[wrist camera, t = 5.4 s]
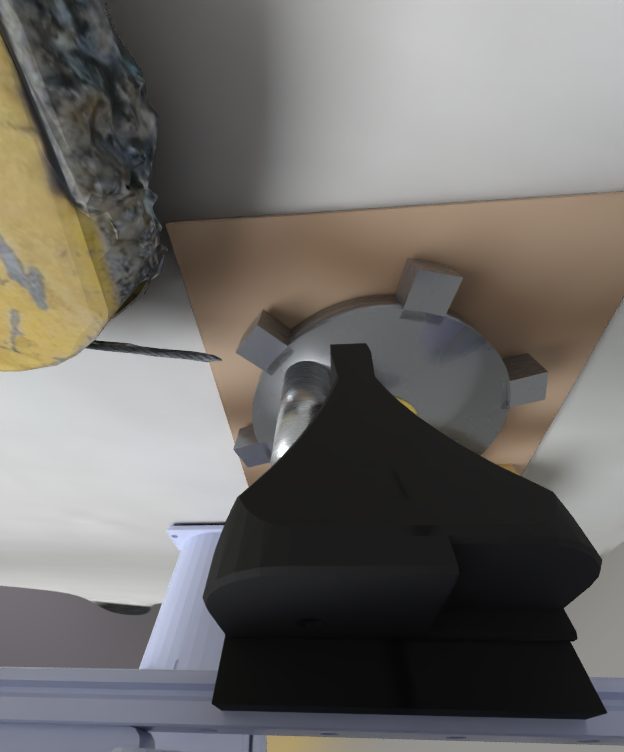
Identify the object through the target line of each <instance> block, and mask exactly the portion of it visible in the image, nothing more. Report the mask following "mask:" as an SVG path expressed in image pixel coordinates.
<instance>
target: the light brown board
mask: <svg viewBox="0 0 624 752" xmlns="http://www.w3.org/2000/svg"><path fill="white" fill-rule="evenodd" d="M165 225H166V228H167V231H168V234H169V238H170V241H171V244H172V247H173V250H174V253H175V256H176V260H177V263H178V266H179V269H180V272H181V275H182V279H183V282H184V285H185V288H186V291H187V294H188V297H189V301H190V304H191V307H192V310H193V313H194V316H195V319H196V323H197V326H198V329H199V332H200V335H201V338H202V341H203V345H204V348H205V351H206V354H212V355H216V356H217V357H219V358H221V359H222V361H213V362H209V363H210V367H211V370H212V373H213V376H214V379H215V382H216V385H217V389H218V392H219V395H220V398H221V401H222V404H223V407H224V411H225V414H226V417H227V420H228V423H229V426H230V429H231V433H232V436H233V439H234V442H235V443H236V439H237V436H238V433H239V429H240V428H243V427H247V426H251V425H253V424H252V405H253V399H254V394H255V391H256V387H257V384H258V380H259V377H260V374H261V371H262V369H260V368H259V367H257V366H256V365H254V364H252V363H251V362H249V361H248V360H246V359H245V358H243V357H242V356H240V355H238V354H237V353H235V352H236V350H237V348H238V345H239V343H240V341H241V339H242V336H243V334H244V333H245V332H246V331H247V329H248V328H249V327H250V325H251V324H252V323H253V322H254V320H255V319H256V318H257V316H258V315H259V314H260V313H261V311H262V310H263V309H264V310H265V311H267V312H268V313H269V314H271V315H272V316H273V317H275V318H276V319H278V320H279V321H280V322H282V323H283V324H284V325H286V326H287V327H288V328H290V329H292V328H293V327H294V326H296V325H297V324H298V323H300V322H301V321H302V320H304V319H305V318H307V317H309V316H310V315H312V314H314V313H316V312H318V311H319V310H322V309H324V308H326V307H329V306H331V305H334V304H336V303H339V302H343V301H347V300H350V299H354V298H359V297H366V296H372V295H395V292H396V289H397V286H398V283H399V280H400V277H401V275H402V272H403V269H404V266H405V263H406V260H407V258H412V259H417V260H422V261H428V262H433V263H439V264H444V265H448V266H449V267H450V268H452V269H453V270H454V271H455V272H457V273H458V274H459V275H460V276H462V277H463V279H462V281H461V283H460V286H459V288H458V290H457V292H456V294H455V296H454V298H453V301H452V303H451V305H450V307H449V309H451V310H453V311H454V312H456V313H458V314H459V315H461V316H463V317H464V318H465V319H466V320H467V321H468V322H470V323H471V324H472V325H473V326H474V327H475V328H476V329H477V330H478V331H479V332H480V333H481V334H482V335H483V336H484V338H485V339H486V340H487V341H488V342H489V343H490V344H491V345H492V346H493V348H494V349H495V350H496V351H497V353H498V354H499V355H500V357H501V359H505V358H509V357H513V356H517V355H521V354H524V353H529V354H530V355H531V356H532V357H533V358H534V359H535V360H536V361H537V362H538V363H539V364H541V365H542V366H543V367H544V368H545V369H546V370H547V371H548V379H547V388H546V397H545V400H541V401H537V402H532V403H528V404H523V405H519V406H515V407H510V408H509V411H508V414H507V418H506V421H505V423H504V425H503V427H502V429H501V431H500V432H499V434H498V435H497V437H496V438H495V440H494V441H493V443H492V444H491V445H490V446H489V447H488V448H487V449H486V450H485V452H484V453H483V454H481V455H480V456H482V457H484V458H485V459H487V460H489V461H491V462H493V463H495V464H512V465H513V467H514V468H515V470H516V472H517V473H518V475H519V476H521V475H522V473H523V471H524V469H525V468H526V466H527V464H528V462H529V461H530V459H531V457H532V456H533V454H534V452H535V450H536V449H537V447H538V445H539V443H540V442H541V440H542V438H543V436H544V435H545V433H546V431H547V429H548V428H549V426H550V424H551V422H552V421H553V419H554V417H555V415H556V414H557V412H558V410H559V408H560V407H561V405H562V403H563V402H564V400H565V398H566V396H567V395H568V393H569V391H570V389H571V388H572V386H573V384H574V382H575V381H576V379H577V377H578V375H579V374H580V372H581V370H582V368H583V367H584V365H585V363H586V361H587V360H588V358H589V356H590V354H591V353H592V351H593V349H594V347H595V346H596V344H597V342H598V341H599V339H600V337H601V335H602V334H603V332H604V330H605V328H606V327H607V325H608V323H609V321H610V320H611V318H612V316H613V314H614V313H615V311H616V309H617V307H618V306H619V304H620V302H621V300H622V299H623V297H624V191H620V192H606V193H591V194H576V195H562V196H547V197H532V198H518V199H503V200H488V201H474V202H459V203H444V204H430V205H415V206H400V207H386V208H371V209H356V210H342V211H327V212H312V213H298V214H283V215H268V216H254V217H239V218H224V219H210V220H195V221H180V222H170V223H167V224H165ZM239 458H240V457H239ZM240 461H241V464H242V467H243V470H244V473H245V477H246V480H247V483H248V486H249V487H250V486H251V485H252V484H253V483H254V482H255V481H256V480H257V479H258V478H260V477H261V476H262V475H263V474H264V473H265V472H266V471H267V470H268V469H270V468H271V465H270V463H266V464H261V465H257V466H253V467H247V466H246V465H245V463H244V462H243V461H242V460H241V458H240Z"/></svg>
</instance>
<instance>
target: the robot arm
mask: <svg viewBox="0 0 624 752" xmlns="http://www.w3.org/2000/svg"><path fill="white" fill-rule="evenodd" d="M330 362H331V390H330V392H329V394H328V396H327V397H326V399H325V401H324V403H323V404H322V406H321V408H320V409H319V411H318V412H317V414H316V415H315V417H314V418H313V419H312V421H311V422H310V423H309V425H308V426H307V427H306V429H305V430H304V431H303V433H302V434H301V435H300V436H299V438H298V439H297V440H296V441H295V442H294V443H293V444H292V445H291V447H290V448H289V449H288V450H287V451H286V452H285V453H284V454H283V455H282V456H281V457H280V458H279V459H278V461H277V462H276V463H275V464H274V465H273V466H272V467H271V468H270V469H268V470H267V471H266V472H265V473H264V474H263V475H262V476H261V477H260V478H258V479H257V480H256V481H255V482H254V483H253V484H252V485H251V486H250V487H248V488H247V489H246V490H245V491H244V492H243V493H242V494H241V495H239V496H238V497H237V499H236V501H235V503H234V505H233V507H232V509H231V511H230V514H229V516H228V518H227V520H226V523H225V525H196V526H170V527H168V529H167V534H168V535H169V537H170V538H171V540H172V541H173V542H174V544H175V545H176V547H177V548H178V550H179V551H180V555H179V558H178V561H177V563H176V566H175V569H174V572H173V575H172V577H171V580H170V583H169V586H168V589H167V592H166V594H165V597H164V600H163V603H162V606H161V609H160V611H159V614H158V617H157V620H156V623H155V625H154V628H153V631H152V634H151V637H150V639H149V642H148V645H147V648H146V651H145V654H144V656H143V659H142V662H141V665H140V668H139V669H105V668H103V669H102V668H49V667H47V668H46V667H0V752H267V738H266V735H277V736H279V735H280V736H312V737H313V736H314V737H315V736H316V737H346V738H347V737H348V738H382V739H415V740H451V741H484V742H522V743H554V744H555V743H556V744H588V745H622V746H624V678H606V677H605V678H603V677H589V676H588V675H587V673H586V671H585V669H584V667H583V665H582V663H581V661H580V659H579V657H578V656H577V654H576V652H575V650H574V648H573V646H572V644H571V642H570V641H575V640H577V633H576V630H575V629H574V627H573V625H572V623H571V621H570V619H569V618H568V616H567V614H566V612H565V610H564V607H566V606H567V605H568V604H569V603H570V602H572V601H573V600H574V599H575V598H576V597H578V596H579V595H580V594H581V593H583V592H584V591H585V590H586V589H587V588H589V587H590V586H591V585H592V584H593V582H594V581H595V580H596V579H597V578H598V577H599V573H600V570H601V564H602V559H601V557H600V556H599V554H598V553H597V551H596V550H595V548H594V547H593V545H592V544H591V542H590V541H589V540H588V538H587V537H586V535H585V534H584V532H583V531H582V529H581V528H580V527H579V525H578V524H577V522H576V521H575V519H574V518H573V517H572V515H571V514H570V513H569V511H568V510H567V509H566V508H565V506H564V505H563V504H562V503H561V501H560V500H559V499H558V498H557V496H556V495H555V494H554V493H553V492H552V491H550V490H548V489H546V488H544V487H542V486H540V485H538V484H536V483H534V482H531V481H529V480H527V479H525V478H523V477H521V476H519V475H517V474H515V473H513V472H511V471H509V470H507V469H505V468H503V467H501V466H499V465H496V464H495V463H493V462H491V461H489V460H487V459H485V458H484V457H482V456H480V455H478V454H477V453H475V452H473V451H471V450H469V449H468V448H466V447H464V446H462V445H461V444H459V443H457V442H456V441H454V440H453V439H451V438H449V437H448V436H446V435H445V434H443V433H442V432H440V431H439V430H437V429H436V428H434V427H433V426H431V425H430V424H428V423H427V422H425V421H424V420H423V419H421V418H420V417H418V416H417V415H416V414H415V413H413V412H412V411H411V410H410V409H408V408H407V407H406V406H405V405H403V404H402V403H401V402H400V401H399V400H398V399H397V398H396V397H394V396H393V395H392V394H391V393H390V392H389V391H388V390H387V389H386V388H385V387H384V386H383V385H382V384H381V383H380V382H379V380H378V379H377V378H376V377H375V374H374V367H373V361H372V355H371V351H370V349H369V347H368V345H367V344H366V343H354V344H330Z"/></svg>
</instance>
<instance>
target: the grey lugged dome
mask: <svg viewBox="0 0 624 752" xmlns="http://www.w3.org/2000/svg"><path fill="white" fill-rule="evenodd" d="M462 279H463V277H462V276H460V275H459V274H458V273H457V272H455V271H454V270H453V269H452V268H450V267H449V266H448V265H444V264H439V263H433V262H428V261H422V260H417V259H412V258H407V260H406V263H405V266H404V269H403V272H402V275H401V277H400V280H399V283H398V286H397V289H396V292H395V295H372V296H366V297H359V298H354V299H350V300H347V301H343V302H339V303H336V304H334V305H331V306H329V307H326V308H324V309H322V310H319V311H318V312H316V313H314V314H312V315H310V316H309V317H307V318H305V319H304V320H302V321H301V322H300V323H298V324H297V325H296V326H294V327H293V328H292V329H290V328H288V327H287V326H286V325H284V324H283V323H282V322H280V321H279V320H278V319H276V318H275V317H273V316H272V315H271V314H269V313H268V312H267V311H265V310H264V309H263V310H262V311H261V313H260V314H259V315H258V316H257V318H256V319H255V320H254V322H253V323H252V324H251V325H250V327H249V328H248V329H247V331H246V332H245V333H244V334H243V336H242V339H241V341H240V343H239V345H238V348H237V350H236V352H235V353H237V354H238V355H240V356H242V357H243V358H245V359H246V360H248V361H249V362H251V363H252V364H254V365H256V366H257V367H259V368H260V369H262V371H261V374H260V377H259V380H258V384H257V387H256V391H255V394H254V399H253V405H252V424H253V425H251V426H247V427H243V428H240V429H239V433H238V436H237V439H236V443H235V446H234V451H235V452H236V453H237V455H238V456H239V457H240V458H241V460H242V461H243V462H244V463H245V465H246V466H247V467H253V466H257V465H261V464H266V463H270V465H271V467H272V466H273V465H274V464H275V463H276V462H277V461H278V459H279V458H280V457H281V456H282V455H283V454H284V453H285V452H286V451H287V450H288V449H289V448H290V447H291V445H292V444H293V443H294V442H295V441H296V440H297V439H298V438H299V436H300V435H301V434H302V433H303V431H304V430H305V429H306V427H307V426H308V425H309V423H310V422H311V421H312V419H313V418H314V417H315V415H316V414H317V412H318V411H319V409H320V408H321V406H322V404H323V403H324V401H325V399H326V397H327V396H328V394H329V392H330V390H331V362H330V344H354V343H366V344H367V345H368V347H369V349H370V351H371V355H372V361H373V367H374V374H375V377H376V378H377V379H378V380H379V382H380V383H381V384H382V385H383V386H384V387H385V388H386V389H387V390H388V391H389V392H390V393H391V394H392V395H393V396H394V397H396V398H397V399H398V400H399V401H400V402H401V403H402V404H403V405H405V406H406V407H407V408H408V409H410V410H411V411H412V412H413V413H415V414H416V415H417V416H418V417H420V418H421V419H423V420H424V421H425V422H427V423H428V424H430V425H431V426H433V427H434V428H436V429H437V430H439V431H440V432H442V433H443V434H445V435H446V436H448V437H449V438H451V439H453V440H454V441H456V442H457V443H459V444H461V445H462V446H464V447H466V448H468V449H469V450H471V451H473V452H475V453H477V454H478V455H481V454H483V453H484V452H485V450H486V449H487V448H488V447H489V446H490V445H491V444H492V443H493V441H494V440H495V438H496V437H497V435H498V434H499V432H500V431H501V429H502V427H503V425H504V423H505V421H506V418H507V414H508V411H509V408H510V407H515V406H519V405H523V404H528V403H532V402H537V401H541V400H545V397H546V388H547V379H548V371H547V370H546V369H545V368H544V367H543V366H542V365H541V364H539V363H538V362H537V361H536V360H535V359H534V358H533V357H532V356H531V355H530V354H529V353H524V354H521V355H517V356H513V357H509V358H505V359H501V357H500V355H499V354H498V353H497V351H496V350H495V349H494V348H493V346H492V345H491V344H490V343H489V342H488V341H487V340H486V339H485V338H484V336H483V335H482V334H481V333H480V332H479V331H478V330H477V329H476V328H475V327H474V326H473V325H472V324H471V323H470V322H468V321H467V320H466V319H465V318H464V317H463V316H461V315H459V314H458V313H456V312H454V311H453V310H451V309H449V307H450V305H451V303H452V301H453V298H454V296H455V294H456V292H457V290H458V288H459V286H460V283H461V281H462Z"/></svg>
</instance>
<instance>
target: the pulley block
mask: <svg viewBox="0 0 624 752" xmlns="http://www.w3.org/2000/svg"><path fill="white" fill-rule="evenodd" d="M145 83H146V82H145V80H144V79H143V76H142V73H141V69H140V68H139V67H138V65H137V64H136V62H135V61H134V59H133V58H132V57H131V55H130V54H129V52H128V51H127V50H126V48H125V47H124V45H123V44H122V42H121V41H120V40H119V38H118V36H117V34H116V32H115V30H114V28H113V26H112V24H111V22H110V20H109V18H108V16H107V14H106V11H105V8H104V5H103V3H102V0H0V371H26V370H32V369H38V368H44V367H49V366H55V365H58V364H60V363H62V362H64V361H66V360H68V359H70V358H72V357H74V356H76V355H77V354H79V353H80V352H81V351H82V350H83V349H85V348H88V349H96V350H103V351H113V352H124V353H134V354H142V355H149V356H156V357H168V358H180V359H188V360H196V361H203V362H213V361H222V359H221V358H219V357H217V356H216V355H212V354H206V353H200V352H193V351H181V350H169V349H158V348H150V347H142V346H137V345H134V344H130V343H118V342H106V341H96V340H95V339H96V338H97V336H98V335H99V334H100V332H101V331H102V330H103V329H104V327H105V326H106V325H107V323H108V322H109V321H110V319H112V318H114V317H116V316H117V315H119V314H120V313H121V312H122V311H124V310H125V309H126V308H127V307H129V306H130V305H131V304H132V303H133V302H134V301H135V300H136V298H137V297H138V296H139V295H140V294H141V293H142V291H143V290H144V289H145V288H146V287H147V288H146V291H147V289H148V286H149V284H150V282H151V281H152V280H153V279H155V278H156V277H157V276H158V275H159V274H160V273H161V272H162V266H163V259H164V255H163V256H162V258H161V260H160V261H159V253H160V252H168V248H167V247H166V246H165V245H164V244H163V243H161V241H160V238H159V237H160V233H161V230H162V226H161V225H160V223H159V221H158V219H157V218H156V216H155V214H154V212H153V205H154V203H155V202H156V200H157V199H158V197H157V195H156V194H155V193H154V192H153V191H151V190H150V189H149V188H148V185H149V182H150V180H151V177H152V162H153V158H154V154H155V151H156V142H157V127H158V115H157V114H156V113H155V111H154V110H153V109H152V107H151V106H150V104H149V102H148V100H147V97H146V92H145V85H144V84H145ZM146 291H145V293H146ZM145 293H144V294H145Z"/></svg>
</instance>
